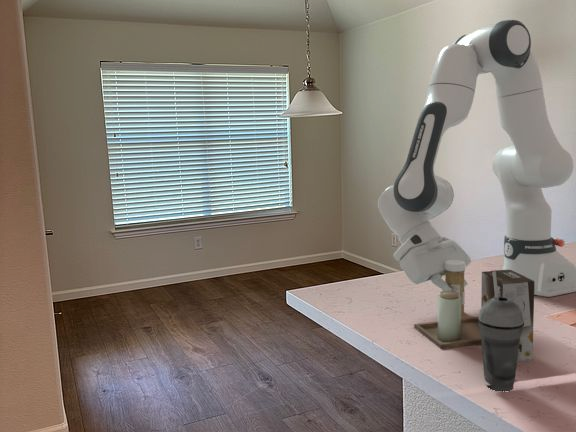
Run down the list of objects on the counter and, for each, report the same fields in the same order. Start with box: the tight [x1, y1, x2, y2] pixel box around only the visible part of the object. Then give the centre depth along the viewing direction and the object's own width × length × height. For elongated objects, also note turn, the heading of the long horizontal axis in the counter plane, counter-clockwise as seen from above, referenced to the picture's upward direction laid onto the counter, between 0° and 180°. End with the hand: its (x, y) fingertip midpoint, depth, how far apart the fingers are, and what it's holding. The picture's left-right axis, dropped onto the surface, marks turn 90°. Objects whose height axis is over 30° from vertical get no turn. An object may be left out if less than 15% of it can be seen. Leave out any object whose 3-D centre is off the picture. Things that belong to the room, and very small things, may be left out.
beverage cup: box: [477, 270, 524, 393], centre depth 88 cm, size 7×7×20 cm
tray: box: [413, 316, 481, 350], centre depth 111 cm, size 16×12×2 cm
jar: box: [437, 290, 462, 342], centre depth 107 cm, size 5×5×10 cm
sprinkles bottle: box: [444, 260, 466, 317], centre depth 122 cm, size 5×5×14 cm
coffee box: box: [480, 269, 535, 363], centre depth 100 cm, size 9×6×16 cm
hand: (457, 289), depth 122 cm, fingers closed on sprinkles bottle, 4 cm apart
